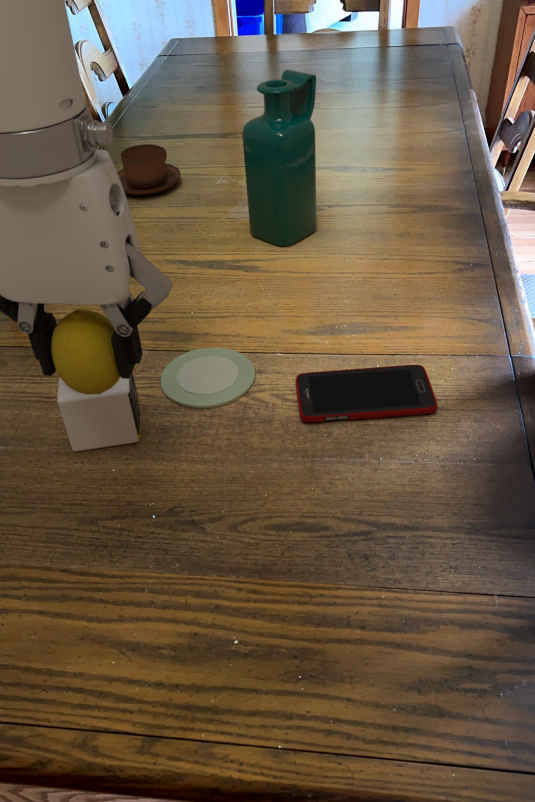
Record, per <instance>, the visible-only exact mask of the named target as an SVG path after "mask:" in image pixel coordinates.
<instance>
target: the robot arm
mask: <svg viewBox="0 0 535 802" xmlns="http://www.w3.org/2000/svg"><path fill="white" fill-rule="evenodd" d="M84 93H85V92H84V88H83V83H82V78H81V74H80V68H79V64H78V58H77V54H76V49H75V44H74V40H73V35H72V30H71V25H70V20H69V15H68V10H67V6H66V1H65V0H0V312H1V313H2V314H4V315H5V316H7V317H8V318H9V319H11V320H12V321H14V322H15V323H17V324H16V325H17V329H18V330H19V332H21V333H23V334H25V335H27V336H28V339H29V342H30V345H31V349H32V352H33V356H34V358H35V359H36V360H37V361H38V362H39V365H40V368H41V371H42V375H44V376H45V377H46V376H48V377H50V376H53V375H54V374H55V373H56V372H57V371H56V368H55V365H54V362H53V358H52V351H51V342H52V336H53V331H54V329H55V327H56V326H57V324H58V322H57V318H56V316H54V314H53V312H47V304H48V305H86V306H89V305H90V306H99V307H100V308H101V310H102V312H103V313H104V316H105V317H107V318H108V320H109V321H110V323H111V324H112V326H113V328H114V329H115V331H114V333H113V335H112V337H111V343H112V347H113V351H114V356H115V360H116V364H117V368H118V373H119V376H120V377H121V378H122V379H129V378H130V376H131V374H132V372H133V371H134V369H135V366H136V364H137V365H138V364H140V363H141V361H142V358H143V346H142V342H141V337H140V332H139V327H138V326H139V325H140V324H141V323H142V322H143V321H144V320H145V318H147V316H148V315H149V314H150V313H151V311H152V310H154V309H155V308H156V307H158V306H159V305H160V304H162V302H163V301H164V300H166V299H167V298H168V297H169V295H170V293H171V290H172V288H173V286H174V285H173V280H171V279H170V277H168V276H167V275H166V274H165V273H163V272H162V270H160V269H159V268H158V267H157V266H155V265H154V264H153V262H151V261H150V260H149V259H148V258H146V257H145V256H144V255H143V253H142V249H141V244H140V241H139V237H138V234H137V228H136V225H135V221H134V218H133V215H132V212H131V207H130V205H129V201H128V199H127V196H126V193H124V190H123V187H122V184H121V181H120V179H119V176H118V174H117V172H118V171H117V168H116V166H115V163H114V162H113V159H112V158H111V155H110V153H109V152H108V151H107V150H105V149H97V148H101V146H111V145H112V144H113V142H114V132H113V127H112V124H111V123H110V122H107V121H106V122H101V121H99V120H97V119H94V118H93V115H92V111H91V107H90V105H88V106H87V101H86V98H85V94H84ZM131 278H132V279H134V280H135V281H136V282H137V283H139V284H140V285H141V286H142V287H143V288H144V289H145V290H143V291H141V292H139V294H138V295H137V296H136V297H135V298H134V296H133V295H132V292H131V291H130V284H131Z"/></svg>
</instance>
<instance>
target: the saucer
mask: <svg viewBox="0 0 535 802" xmlns="http://www.w3.org/2000/svg"><path fill="white" fill-rule="evenodd" d="M255 380H256V369H255V366H254V364H253V362H252V361H251V360H250V358H248V357H247V356H246V355H245V354H243V353H242V352H239V351H237V350H234V349H230V348H226V347H216V346H215V347H201V348H197V349H193V350H189V351H187V352H185V353H182V354H180V355H178V356H177V357H175V358H174V359H172V360H171V361H170V362H169V363H168V364H167V365H166V366H165V367H164V369H163V370H162V372H161V375H160V381H159V382H160V387H161V390H162V393H163V394H164V395H165V397H167V399H169V401H171V402H173V403H175V404H177V405H179V406H182V407H187V408H191V409H210V408H211V409H213V408H219V407H222V406H226V405H228V404H230V403H231V404H232V403H233V402H235V401H237V400H238V399H239V400H240V399H241V398H242V397H243V396H244V395H246V394H247V393H248V392H249V391H250V390H251V388H252V386H253V385H254V382H255Z"/></svg>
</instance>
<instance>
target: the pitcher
mask: <svg viewBox="0 0 535 802" xmlns="http://www.w3.org/2000/svg"><path fill="white" fill-rule="evenodd" d="M316 89H317V75H316V74H313V73H307V72H302V71H298V70H297V71H296V70H291V69H285V70H283V72H282V75H281V79H280V78H279V79H268V80H264V81H263V82H260V83H258V85H257V86H256V91H257V92H258V93H259V94H262V95H263V113H262V114H261V115H259V116H256V117H254V118H251V119H250V120H248V121H247V122H245V124H244V125H243V128H242V133H241V136H242V137H241V138H242V147H243V161H244V170H245V171H244V173H245V184H246V198H247V199H246V200H247V211H248V221H249V233H250V234H251V235H252V237H255V238H257V239H260V240H263V241H265V242H267V243H271V244H273V245H276V246H279V247H280V246H281V247H288V246H291V245H294V244H295V243H297V242H299V241H301V240H303V239H304V238H306V237H308V236H309V235H311V234H313V233H315V231H316V230H317V168H316V165H317V163H316V158H317V157H316V129H315V128H316V127H315V125H314V121H313V120H312V117H313V113H314V109H315V103H316V93H317V92H316Z"/></svg>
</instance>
